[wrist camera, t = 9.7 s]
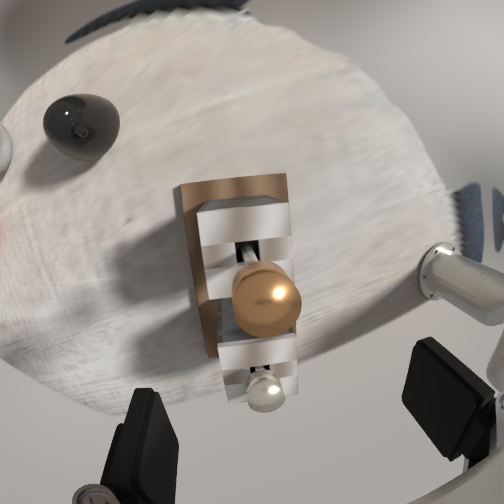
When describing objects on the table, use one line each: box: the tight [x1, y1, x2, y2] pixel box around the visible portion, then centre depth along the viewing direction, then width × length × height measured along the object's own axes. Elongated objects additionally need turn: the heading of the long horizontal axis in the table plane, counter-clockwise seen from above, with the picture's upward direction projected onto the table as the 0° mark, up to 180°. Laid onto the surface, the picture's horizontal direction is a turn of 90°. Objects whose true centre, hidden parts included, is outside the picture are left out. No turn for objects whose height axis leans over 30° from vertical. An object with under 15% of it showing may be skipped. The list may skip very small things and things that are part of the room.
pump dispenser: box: [43, 94, 120, 161], centre depth 33 cm, size 10×10×15 cm
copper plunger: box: [231, 240, 301, 337], centre depth 27 cm, size 7×7×20 cm
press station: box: [180, 173, 298, 404], centre depth 40 cm, size 16×30×18 cm, turn 6°
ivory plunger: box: [245, 365, 285, 412], centre depth 38 cm, size 7×7×20 cm
